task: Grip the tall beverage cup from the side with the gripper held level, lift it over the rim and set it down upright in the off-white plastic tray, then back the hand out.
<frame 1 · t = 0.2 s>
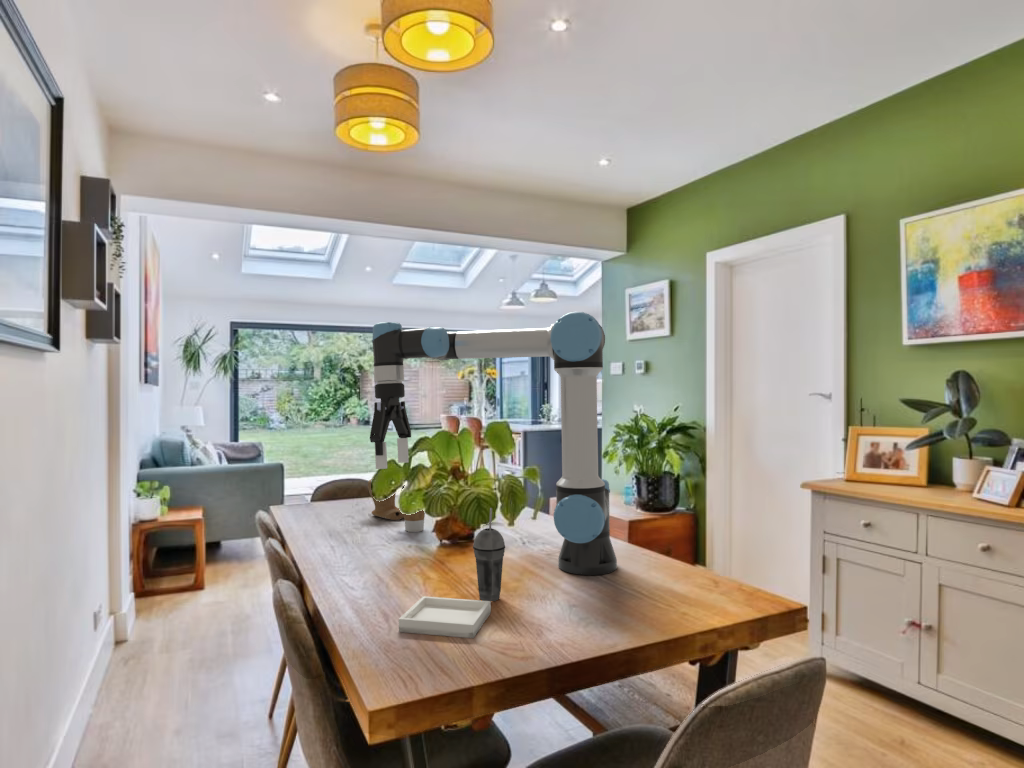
hand: (393, 465, 158), 27 cm above the table, tool pointing down, fingers open, 13 cm apart
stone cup: (386, 518, 222), on the table
beverage cup: (489, 599, 137), on the table
tray: (446, 622, 124), on the table
coffee cup: (414, 530, 203), on the table
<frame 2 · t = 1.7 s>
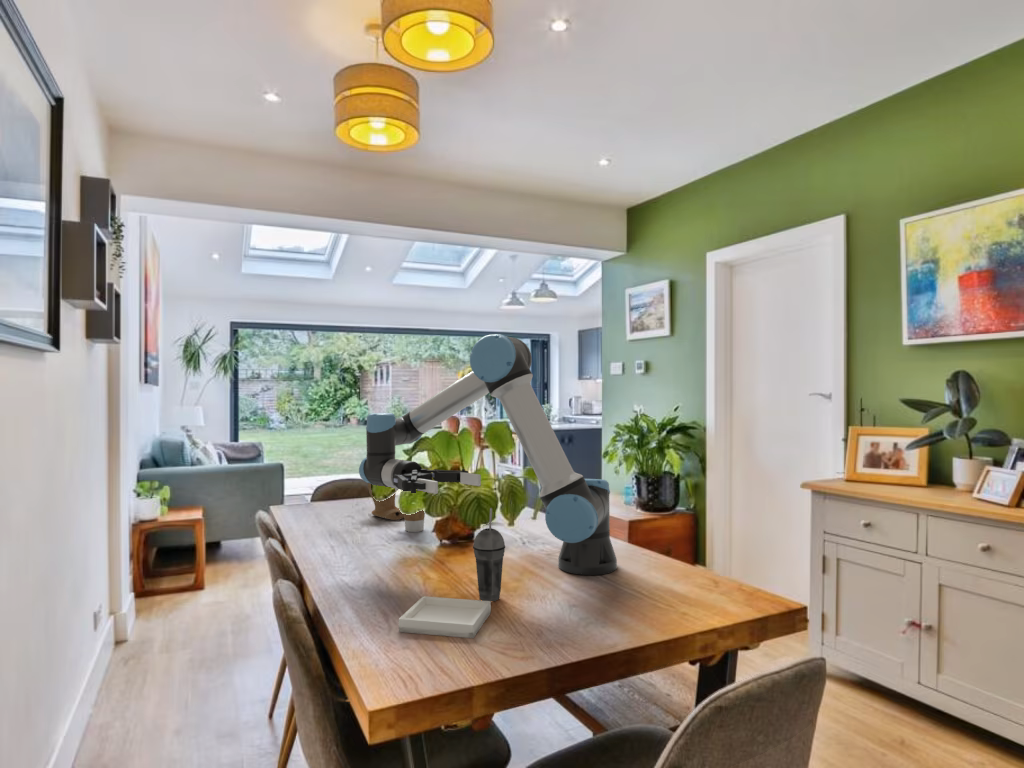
hand: (459, 483, 144), 25 cm above the table, tool horizontal, fingers open, 13 cm apart
nothing on the table moved.
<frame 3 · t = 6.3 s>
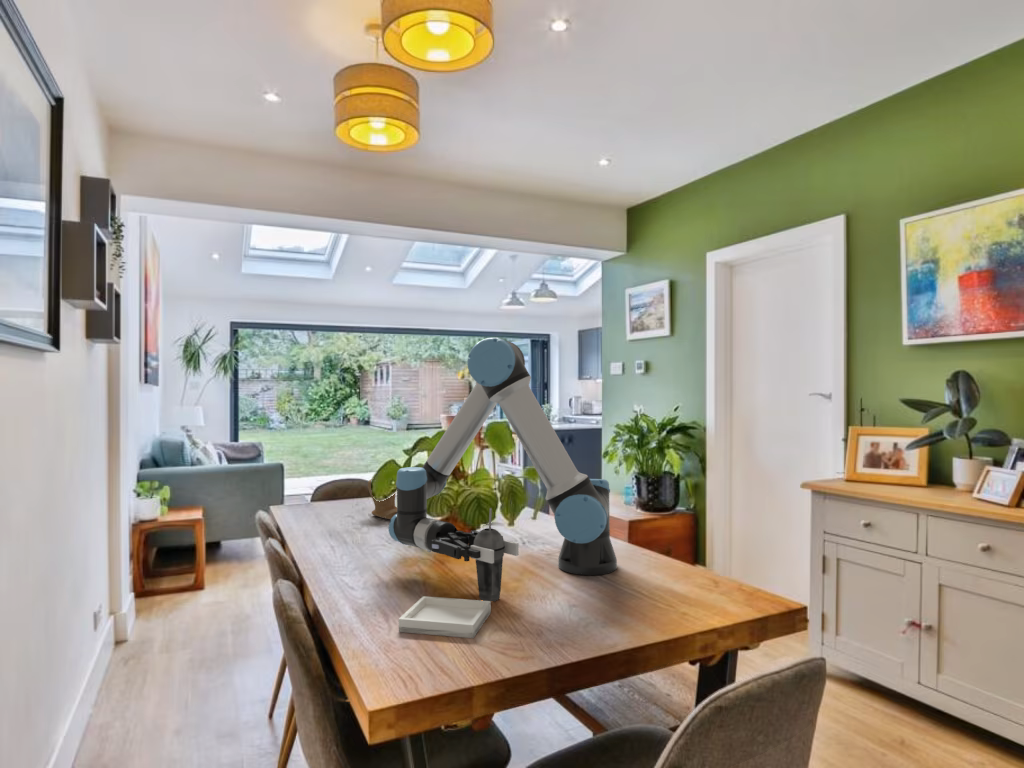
hand: (505, 553, 134), 11 cm above the table, tool horizontal, fingers closed on beverage cup, 7 cm apart
beverage cup: (489, 599, 137), on the table, touching gripper
everything else where it was.
when the fingers open (13 cm above the table, at t = 10.4 s): beverage cup drops 1 cm, resting on tray.
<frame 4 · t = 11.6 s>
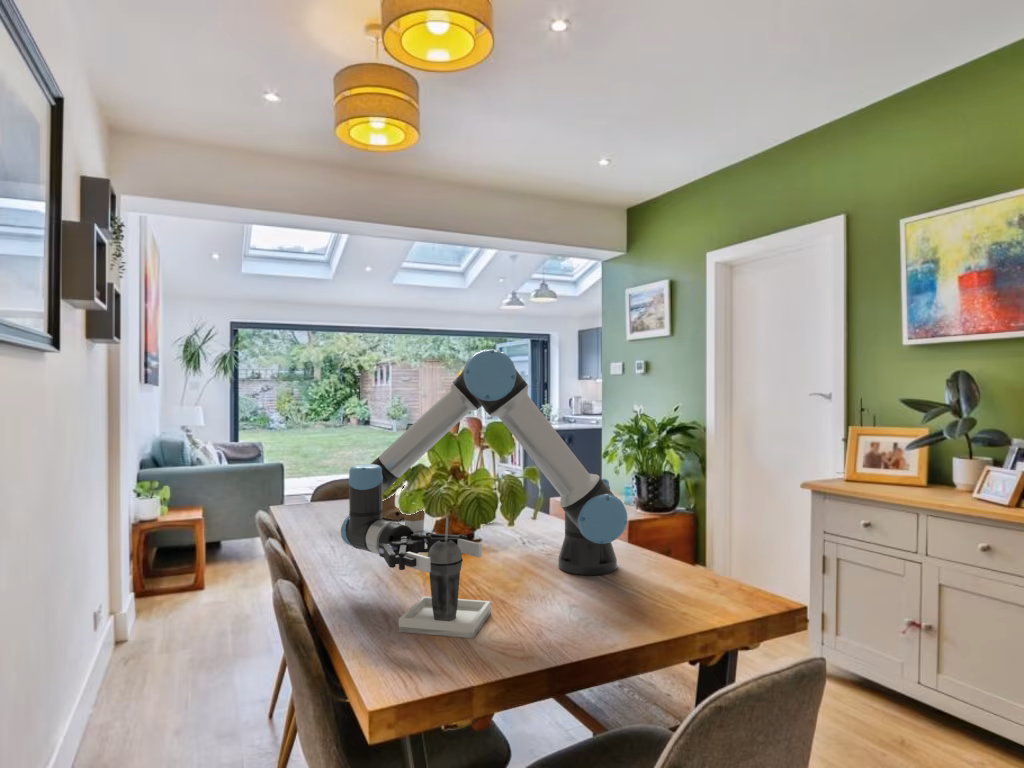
hand: (455, 557, 122), 14 cm above the table, tool horizontal, fingers open, 13 cm apart
beverage cup: (444, 618, 124), point 1 cm above the table, touching tray
everything else where it was.
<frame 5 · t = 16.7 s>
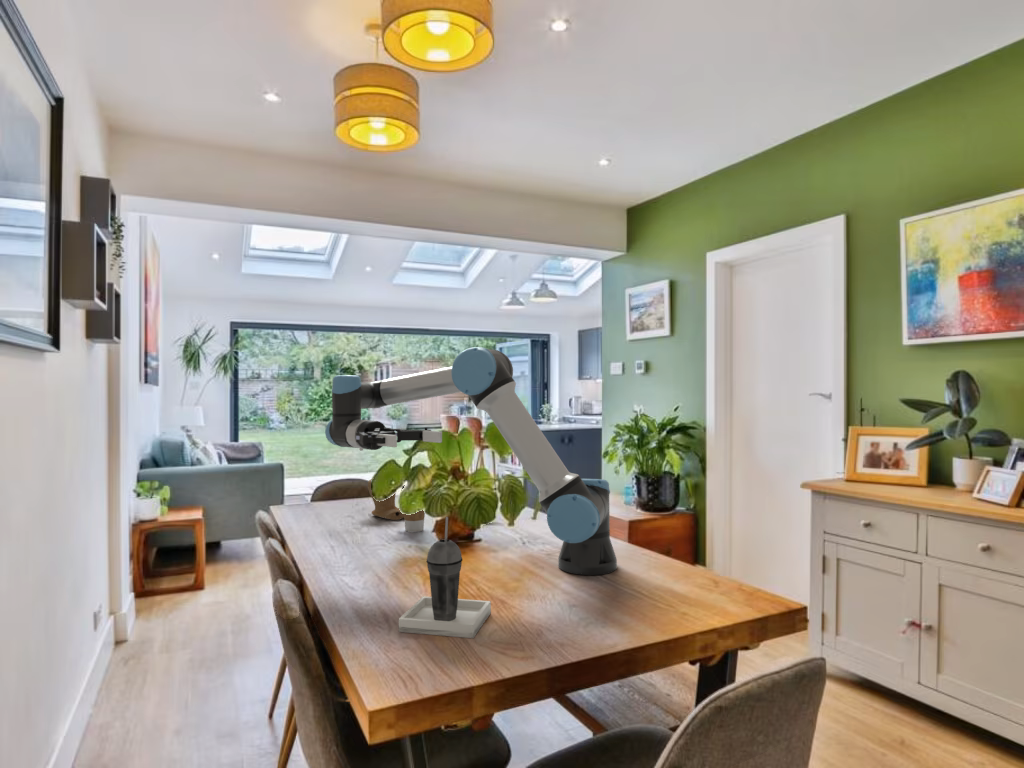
hand: (419, 439, 145), 35 cm above the table, tool horizontal, fingers open, 13 cm apart
nothing on the table moved.
at the end: beverage cup inside the target area on the tray (0.3 cm from its centre), point 0.8 cm above the tray's base; beverage cup tilted 0°; the gripper is holding nothing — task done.
